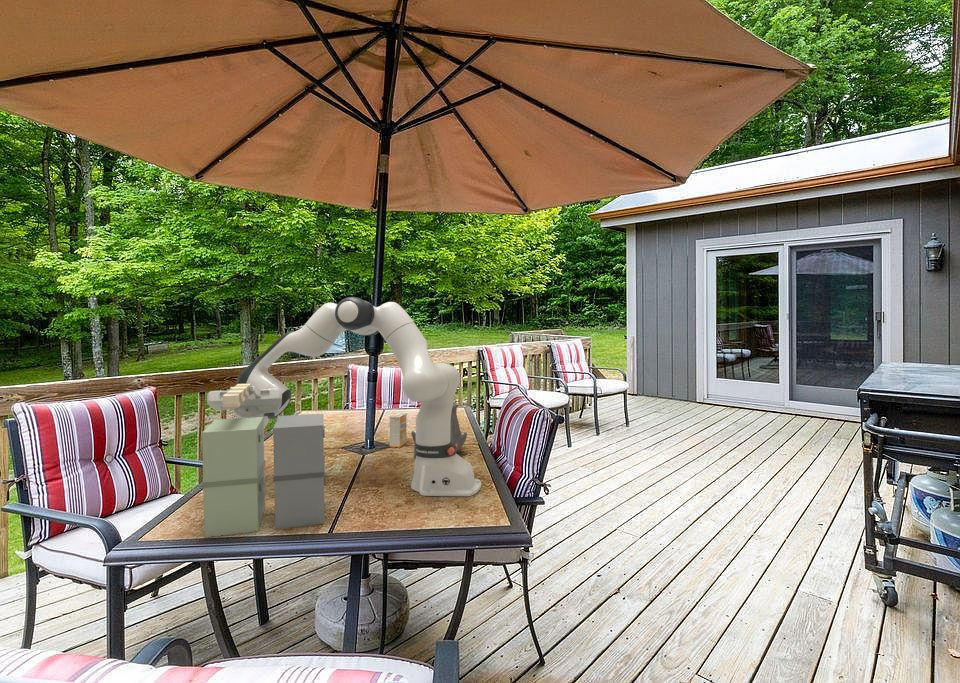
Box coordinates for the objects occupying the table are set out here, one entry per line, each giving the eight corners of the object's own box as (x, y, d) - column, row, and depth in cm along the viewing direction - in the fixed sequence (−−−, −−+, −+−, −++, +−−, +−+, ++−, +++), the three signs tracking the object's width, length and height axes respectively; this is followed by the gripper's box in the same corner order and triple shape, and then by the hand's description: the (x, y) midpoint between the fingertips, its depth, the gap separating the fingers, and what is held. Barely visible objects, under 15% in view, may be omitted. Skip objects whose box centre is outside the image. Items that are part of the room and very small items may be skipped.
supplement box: (400, 448, 204) (400, 416, 204) (389, 447, 205) (389, 416, 205) (407, 443, 212) (407, 412, 212) (396, 442, 213) (396, 412, 213)
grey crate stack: (279, 506, 141) (277, 416, 140) (325, 501, 145) (324, 413, 144) (273, 529, 126) (271, 428, 124) (325, 523, 129) (324, 425, 128)
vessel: (462, 444, 210) (462, 397, 209) (469, 459, 188) (469, 407, 187) (411, 446, 207) (411, 399, 206) (411, 461, 185) (411, 408, 184)
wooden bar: (238, 394, 145) (237, 383, 144) (251, 393, 146) (250, 383, 146) (222, 407, 123) (222, 395, 123) (238, 407, 124) (237, 395, 124)
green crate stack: (217, 512, 136) (214, 419, 135) (266, 507, 140) (264, 416, 139) (203, 538, 121) (200, 432, 119) (259, 531, 125) (257, 429, 123)
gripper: (212, 397, 151) (202, 380, 140) (284, 394, 158) (280, 377, 146) (210, 417, 149) (200, 401, 137) (283, 413, 155) (280, 397, 143)
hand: (242, 388), depth 141 cm, fingers closed on wooden bar, 3 cm apart
